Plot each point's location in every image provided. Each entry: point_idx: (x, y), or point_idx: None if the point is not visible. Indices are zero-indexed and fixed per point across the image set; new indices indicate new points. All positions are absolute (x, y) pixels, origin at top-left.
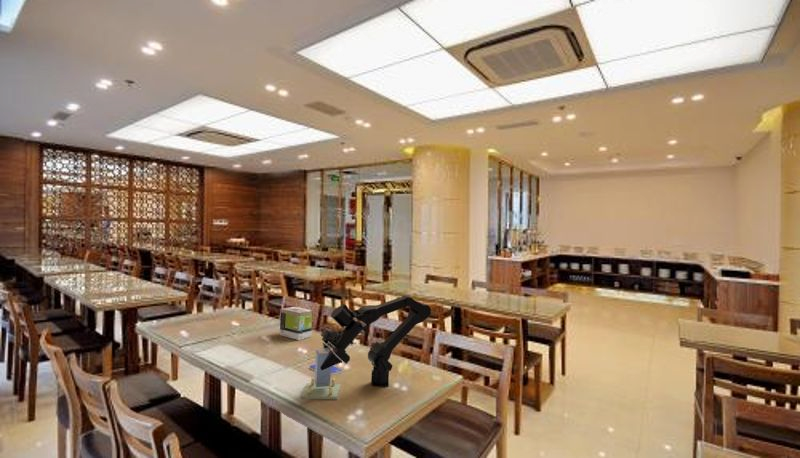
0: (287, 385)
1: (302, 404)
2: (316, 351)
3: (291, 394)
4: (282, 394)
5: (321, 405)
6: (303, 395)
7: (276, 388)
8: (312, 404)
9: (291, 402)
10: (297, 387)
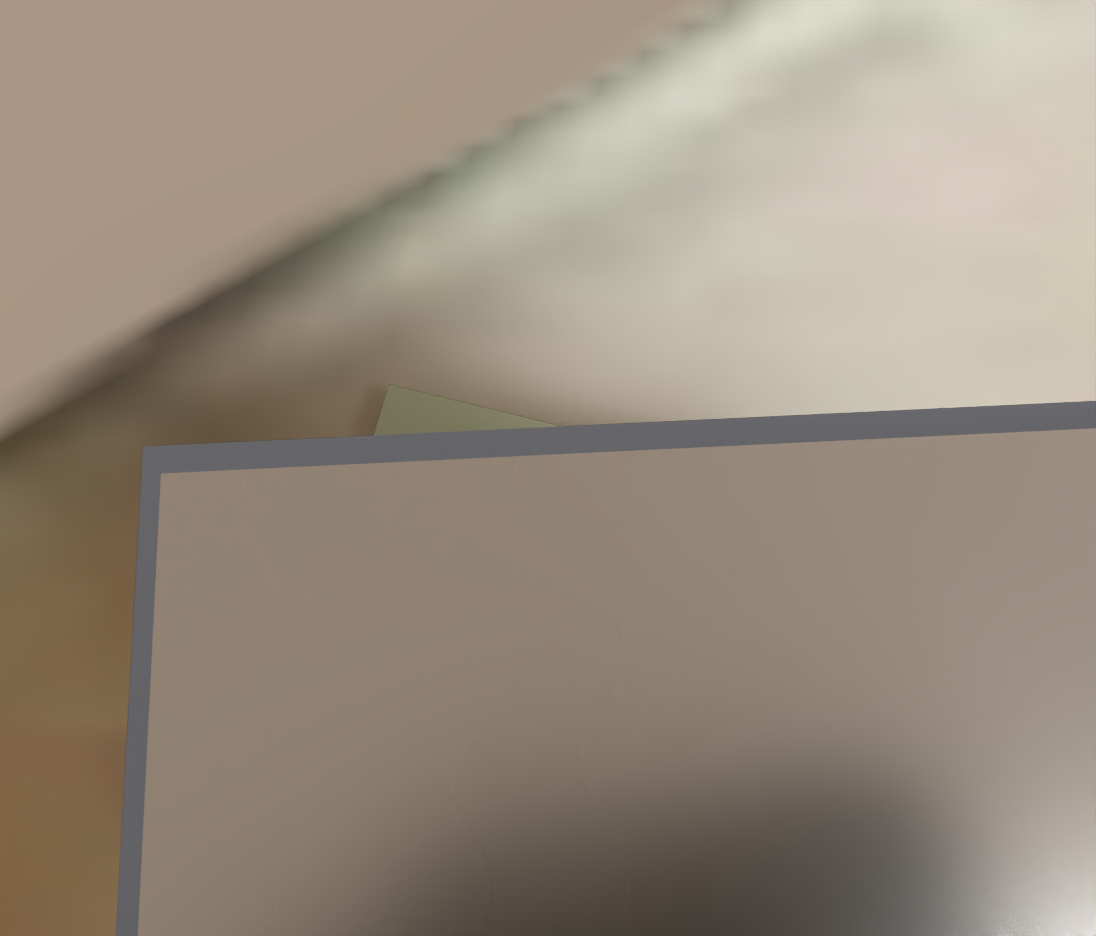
0: (976, 212)
1: (157, 421)
2: (944, 421)
3: (591, 264)
4: (615, 132)
5: (15, 752)
6: (382, 432)
7: (865, 50)
8: (106, 590)
9: (281, 256)
10: (874, 371)
